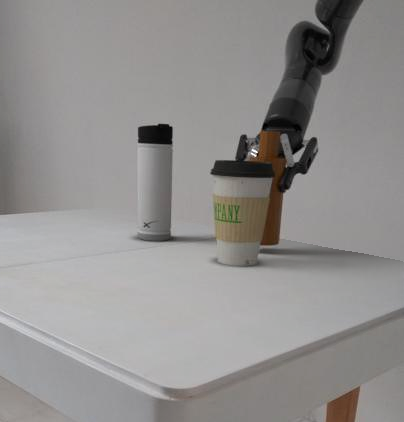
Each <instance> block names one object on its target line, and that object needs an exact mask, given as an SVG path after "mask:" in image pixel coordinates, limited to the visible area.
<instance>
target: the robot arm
mask: <svg viewBox="0 0 404 422" xmlns="http://www.w3.org/2000/svg"><path fill="white" fill-rule="evenodd" d="M364 1H365V0H316V2H315V3H314V14H315V17H316V18H317V20H318V22H320V23H321V25H322V26H323V27H324V28H323V27H321V26H320V25H317V24H316V23H314V22H312V21H310V20H300V21H298V22H296V23H295V24H294V25H293V26H292V27H291V29H290V30H289V32H288V34H287V37H286V41H285V45H284V46H285V47H284V70H283V75H282V77H281V80H280V83H279V85H278V87H277V89H276V90H275V93H274V95H273V96H272V99H271V102H270V103H269V106H268V110H267V112H266V115H265V116H264V117H265V118H264V120H263V122H262V126H261V130H260V131H273V132H280V139H279V151H278V157H279V158H286V167H285V169H284V172H283V174H282V177H281V180H280V183H279V187H280V192H281V193H283V194H285V193H287V191H289V190H290V189H291V186H292V185H293V182H294V179H295V177H296V175H298V174H301V175H306V174H308V172H309V170H310V168H311V166H312V164H313V162H314V161H315V159H316V156H317V154H318V153H319V144H318V138H317V137H316V136H313V137H311V138H310V139H304V138H305V135H306V132H307V130H308V127H309V124H310V121H311V118H312V116H313V112H314V109H315V105H316V100H317V97H318V94H319V91H320V89H321V86H322V82H323V77H324V76H327V75H329V74H331V73H332V72H334V70H335V69H336V68H337V66H338V64H339V62H340V60H341V56H342V53H343V49H344V46H345V45H344V44H345V41H346V37H347V34H348V32H349V28H350V26H351V24H352V22H353V19H354V18H355V16H356V15H357V13H358V11H359V10H360V8H361V7H362V5H363V3H364ZM259 142H260V132H259V133H258V134H257V135H256V136H255V137H248V135H247V134H241V135H240V136H239V141H238V145H237V148H236V153H235V157H234V160H236V161H250V157H258V156H259ZM302 149H303V152H302V154H301V156H300V158H299V160H298V161H295V159H294V155H296V154H297V153H299V152H300V151H301V150H302ZM249 153H250V154H249Z"/></svg>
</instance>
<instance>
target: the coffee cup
mask: <svg viewBox="0 0 404 422" xmlns="http://www.w3.org/2000/svg"><path fill="white" fill-rule="evenodd" d="M209 173H210V175H212V183H213V193H212V202H213V203H212V204H213V218H214V233H215V234H214V235H215V239H216V255H217V262H218V263H220V264H223V265H227V266H236V267H247V266H253V265H257V262H258V258H259V252H260V247H261V245H260V242H261V241H262V236H263V231H264V226H265V221H266V216H267V210H268V205H269V200H270V196H269V194H270V189H271V184H272V179H273V178H275V172H274V171H273V167H272V163H268V162H256V161H236V160H235V159H231V160H230V159H229V160H228V159H215V161H214V164H213V168H211V169H210V172H209Z"/></svg>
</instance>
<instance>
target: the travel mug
mask: <svg viewBox="0 0 404 422" xmlns="http://www.w3.org/2000/svg"><path fill="white" fill-rule="evenodd" d="M173 134H174V127H173V126H172V125H170V124H169V123H158V124H154V125H153V124H151V125H150V124H149V125H141V126H138V127H137V138H138V139H137V238H138V239H139V240H143V241H150V242H164V241H169V240H170V239H171V237H172V231H171V229H172V199H173V198H172V197H173V196H172V195H173V152H174V150H173V147H174V144H173V142H174V141H173V137H174V135H173Z"/></svg>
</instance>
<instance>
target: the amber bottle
mask: <svg viewBox="0 0 404 422" xmlns="http://www.w3.org/2000/svg"><path fill="white" fill-rule="evenodd" d="M259 133H260V142H259V156H258V157H250V161H256V162H268V163H272V167H273V171H274V172H275V178H273V179H272V184H271V189H270V194H269V196H270V200H269V205H268V210H267V216H266V221H265V226H264V231H263V236H262V241H261V242H260V246H261V247H262V246H265V247H267V246H268V247H269V246H277V245H279V244H280V237H281V224H282V215H283V213H282V212H283V205H284V193H281V192H280V187H279V183H280V180H281V177H282V174H283V172H284V169H285V167H287V166H286V158H279V157H278V151H279V139H280V132H273V131H261V130H260V131H259Z"/></svg>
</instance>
